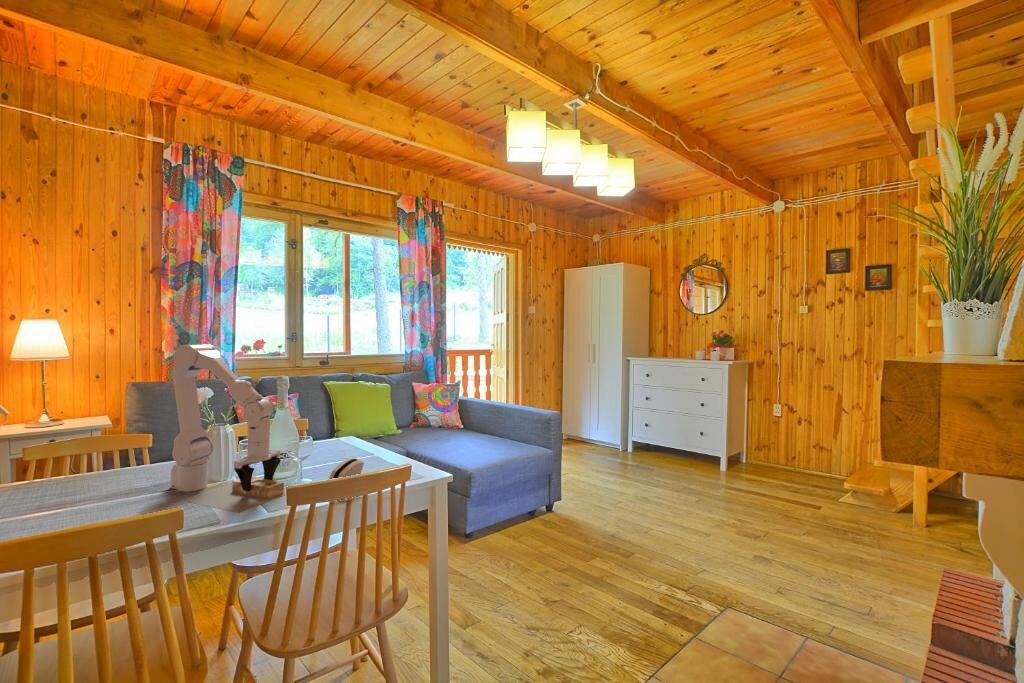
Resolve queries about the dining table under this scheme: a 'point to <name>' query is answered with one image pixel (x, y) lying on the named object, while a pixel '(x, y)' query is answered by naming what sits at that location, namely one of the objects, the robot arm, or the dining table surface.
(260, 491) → the tan block
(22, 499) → the dining table surface
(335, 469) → the tan half-round piece
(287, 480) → the dining table surface
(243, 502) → the board
